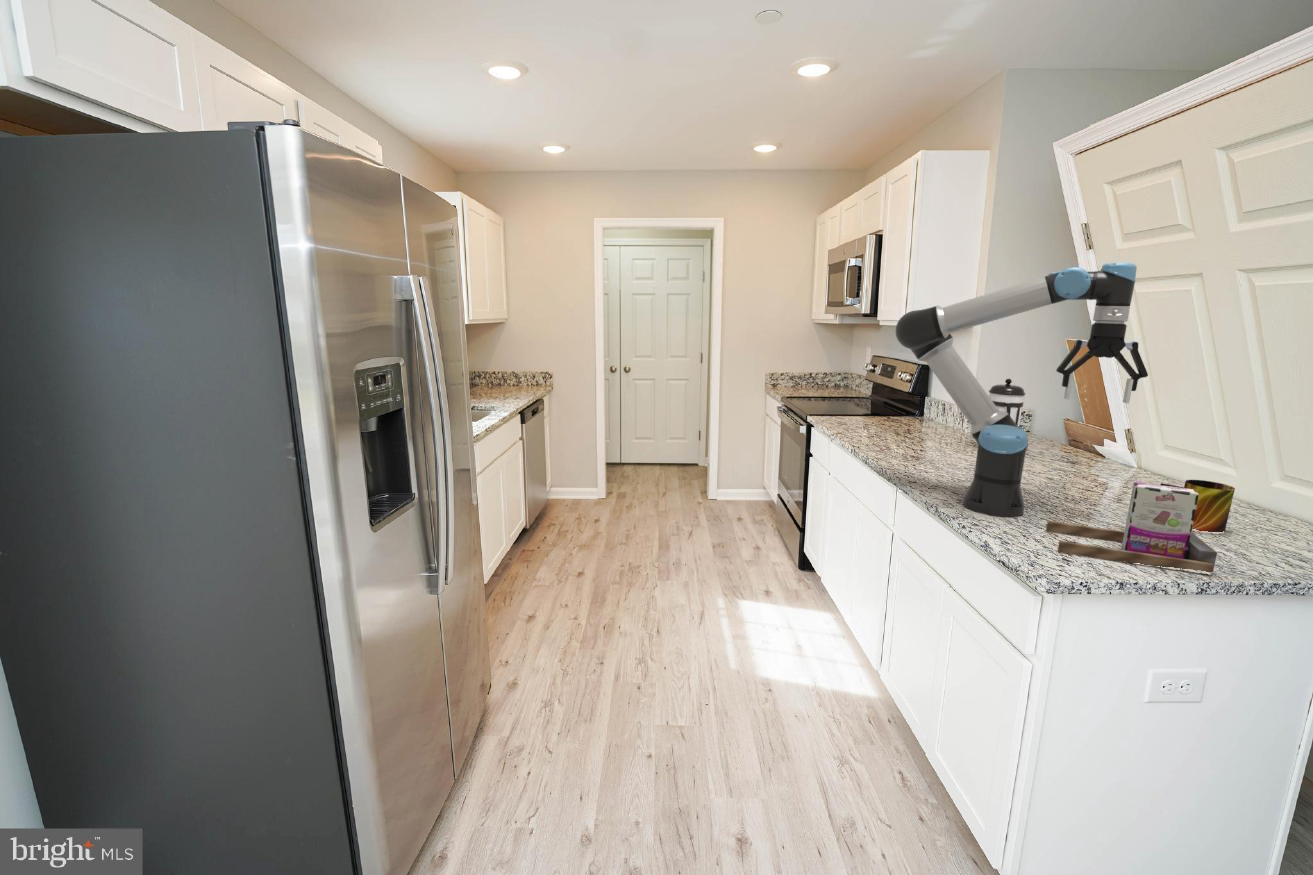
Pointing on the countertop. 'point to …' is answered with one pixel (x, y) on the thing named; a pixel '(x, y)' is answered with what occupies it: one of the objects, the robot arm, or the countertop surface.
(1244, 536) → the countertop surface
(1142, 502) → the candy bar box
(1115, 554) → the guide channel
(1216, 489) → the mug
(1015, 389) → the coffee press
